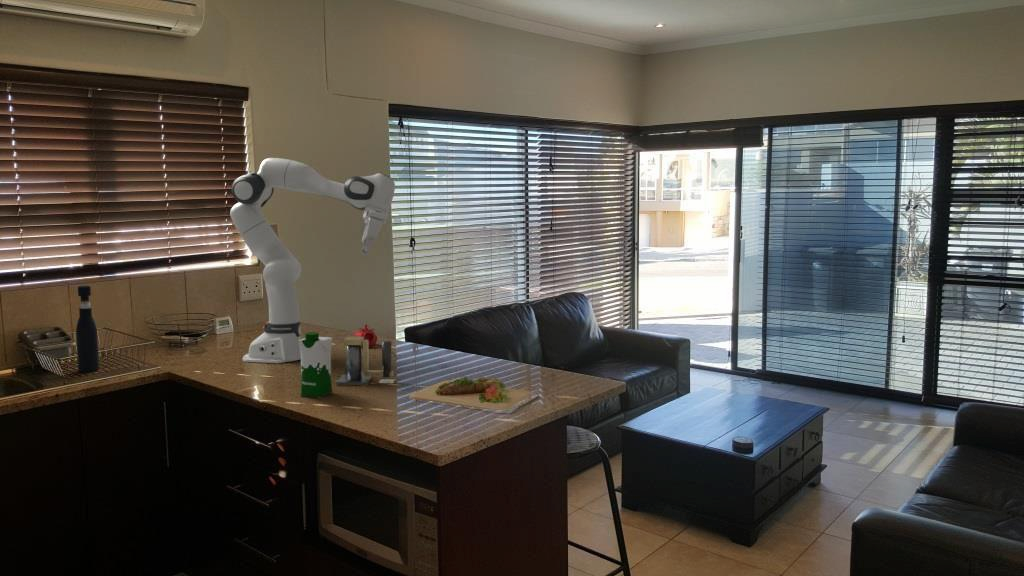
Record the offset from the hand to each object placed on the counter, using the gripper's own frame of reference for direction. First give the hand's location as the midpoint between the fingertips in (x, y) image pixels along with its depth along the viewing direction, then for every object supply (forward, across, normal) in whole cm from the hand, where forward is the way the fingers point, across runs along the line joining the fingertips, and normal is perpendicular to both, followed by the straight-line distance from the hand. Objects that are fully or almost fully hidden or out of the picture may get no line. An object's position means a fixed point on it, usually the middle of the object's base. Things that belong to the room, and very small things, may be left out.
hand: (365, 252), depth 276 cm
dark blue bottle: (+66, -19, -80) cm, 105 cm away
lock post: (+44, +16, +12) cm, 48 cm away
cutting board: (+42, +47, +42) cm, 76 cm away
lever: (+43, +20, +11) cm, 49 cm away
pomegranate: (+33, -40, +14) cm, 54 cm away
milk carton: (+52, +32, -4) cm, 61 cm away
